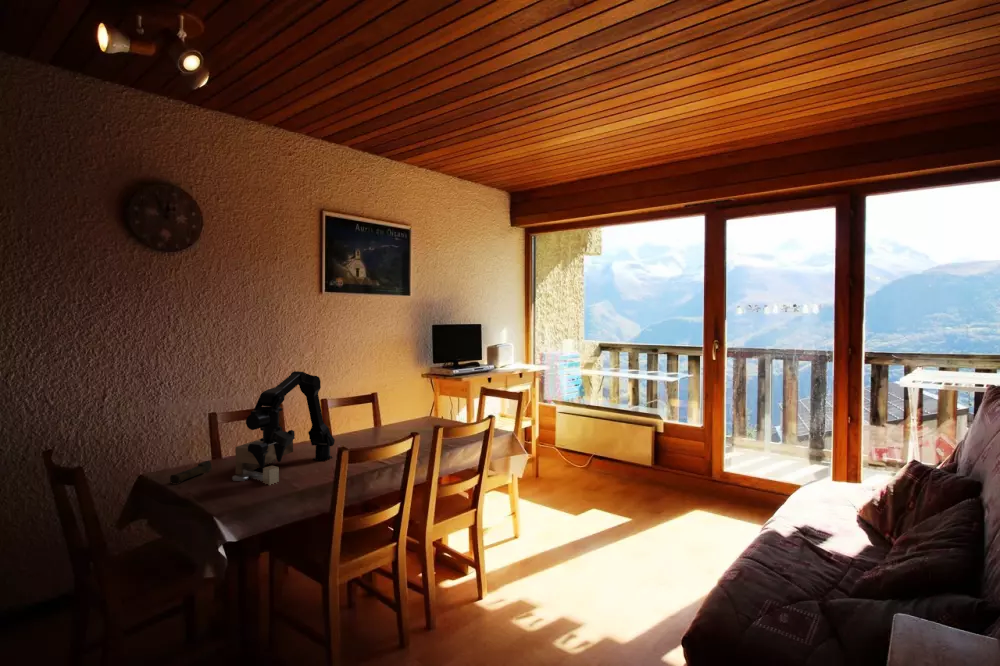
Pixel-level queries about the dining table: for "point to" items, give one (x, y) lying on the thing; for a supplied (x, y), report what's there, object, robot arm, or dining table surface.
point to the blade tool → (265, 474)
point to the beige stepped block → (249, 461)
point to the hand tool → (191, 472)
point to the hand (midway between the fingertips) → (271, 465)
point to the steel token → (240, 477)
